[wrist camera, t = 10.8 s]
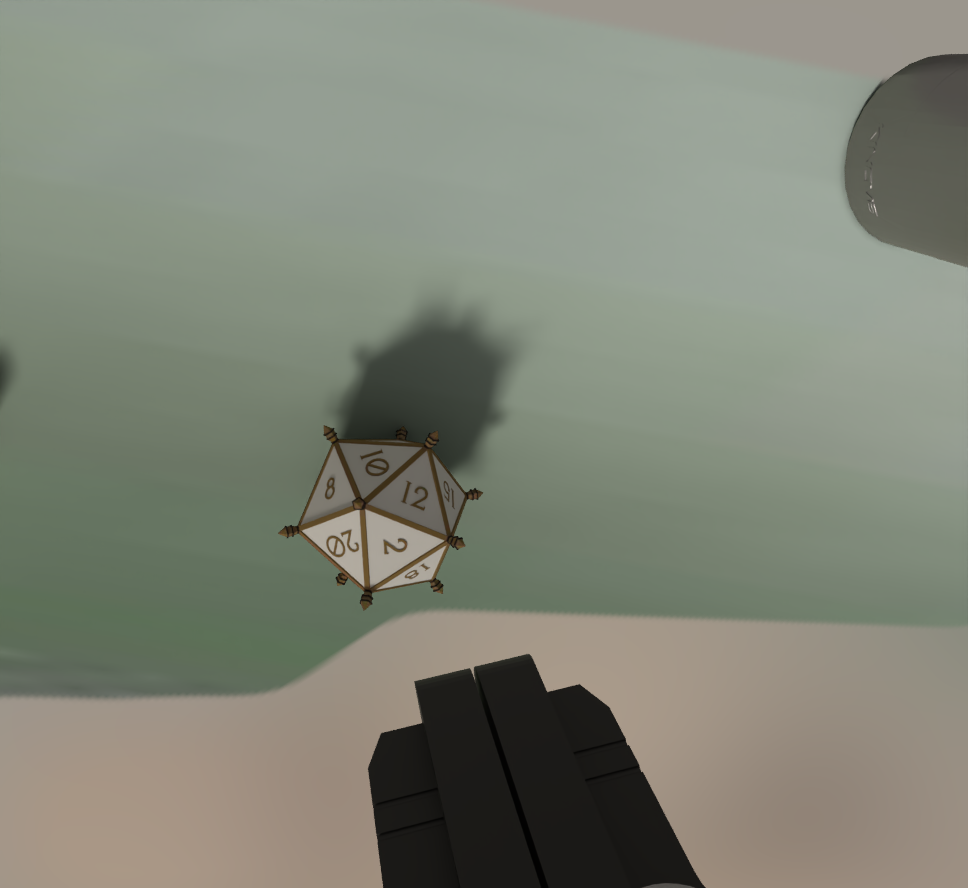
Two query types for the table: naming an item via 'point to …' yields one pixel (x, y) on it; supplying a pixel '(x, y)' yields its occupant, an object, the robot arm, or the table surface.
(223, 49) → the table surface
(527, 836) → the robot arm
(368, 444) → the game die
